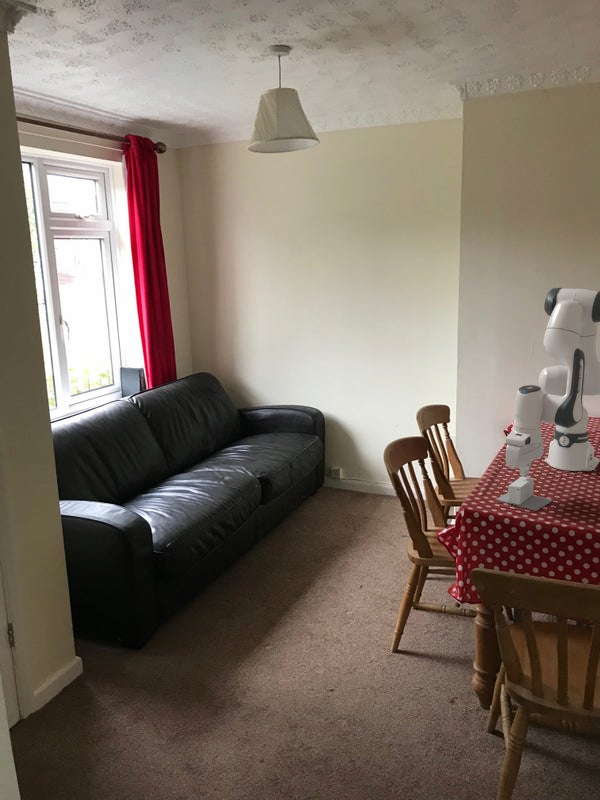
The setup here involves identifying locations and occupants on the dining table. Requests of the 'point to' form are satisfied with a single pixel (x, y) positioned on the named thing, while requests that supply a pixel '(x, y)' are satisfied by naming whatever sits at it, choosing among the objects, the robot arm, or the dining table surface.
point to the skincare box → (520, 490)
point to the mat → (528, 502)
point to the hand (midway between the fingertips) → (524, 475)
